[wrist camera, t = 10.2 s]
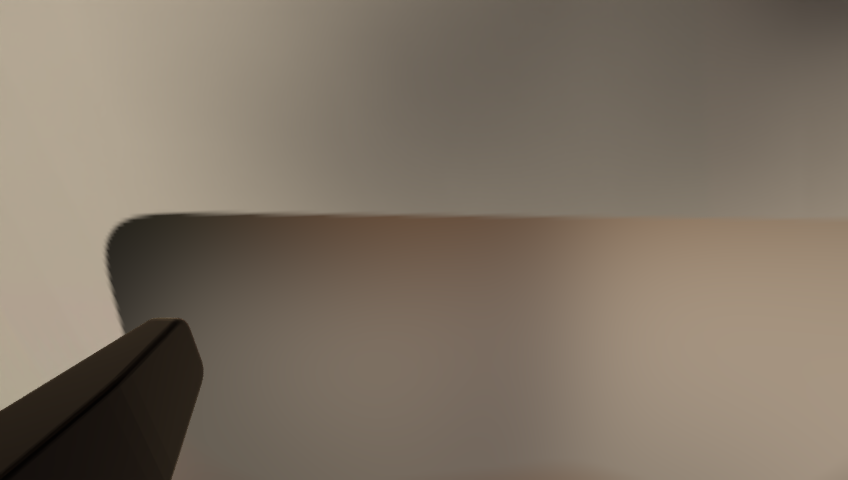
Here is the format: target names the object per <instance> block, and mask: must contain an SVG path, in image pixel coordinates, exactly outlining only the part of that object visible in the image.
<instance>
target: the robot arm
mask: <svg viewBox="0 0 848 480" xmlns="http://www.w3.org/2000/svg"><path fill="white" fill-rule="evenodd" d="M202 380H203V364H202V360H201V357H200V354H199V352H198V349H197V346H196V344H195V341H194V338H193V335H192V332H191V330H190V327H189V325H188V323H187V322H186V321H185V320H183V319H181V318H153V319H150V320H148V321H146V322H145V323H143V324H142V325H140V326H139V327H137V328H135V329H133V330H132V331H130V332H129V333H127V334H125V335H124V336H122V337H120V338H119V339H117V340H115V341H114V342H112V343H111V344H109V345H107V346H106V347H104V348H102V349H101V350H99V351H97V352H96V353H94V354H93V355H91V356H89V357H88V358H86V359H84V360H83V361H81V362H79V363H78V364H76V365H75V366H73V367H71V368H70V369H68V370H66V371H65V372H63V373H62V374H60V375H58V376H57V377H55V378H53V379H52V380H50V381H48V382H47V383H45V384H44V385H42V386H40V387H39V388H37V389H35V390H34V391H32V392H31V393H29V394H27V395H26V396H24V397H22V398H21V399H19V400H17V401H16V402H14V403H13V404H11V405H9V406H8V407H6V408H4V409H3V410H1V411H0V480H171V479H172V476H173V473H174V470H175V467H176V464H177V461H178V457H179V454H180V451H181V448H182V445H183V441H184V438H185V435H186V432H187V429H188V425H189V422H190V419H191V416H192V413H193V409H194V407H195V403H196V400H197V397H198V394H199V391H200V387H201V384H202Z"/></svg>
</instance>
